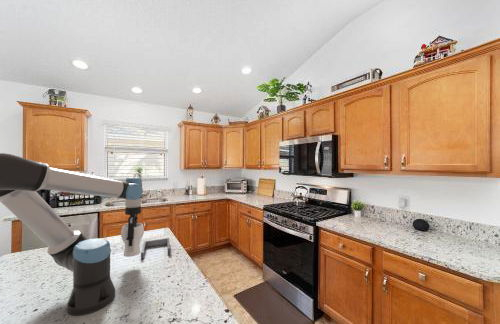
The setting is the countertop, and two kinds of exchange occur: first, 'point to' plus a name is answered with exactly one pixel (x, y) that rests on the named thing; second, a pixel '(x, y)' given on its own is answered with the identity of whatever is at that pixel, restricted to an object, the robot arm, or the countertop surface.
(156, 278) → the countertop surface
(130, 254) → the cup
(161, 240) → the channel
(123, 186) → the robot arm
